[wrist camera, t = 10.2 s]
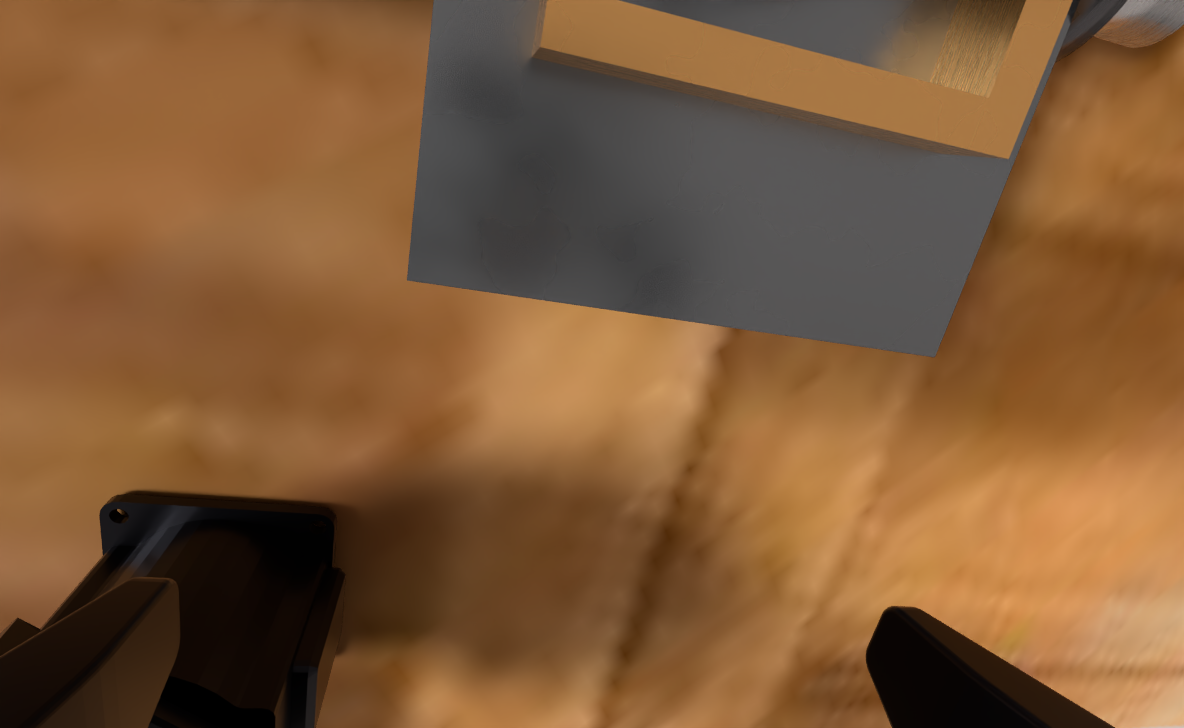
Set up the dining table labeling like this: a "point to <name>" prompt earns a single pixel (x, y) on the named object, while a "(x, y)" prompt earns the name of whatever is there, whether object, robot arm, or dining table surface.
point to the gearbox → (737, 152)
